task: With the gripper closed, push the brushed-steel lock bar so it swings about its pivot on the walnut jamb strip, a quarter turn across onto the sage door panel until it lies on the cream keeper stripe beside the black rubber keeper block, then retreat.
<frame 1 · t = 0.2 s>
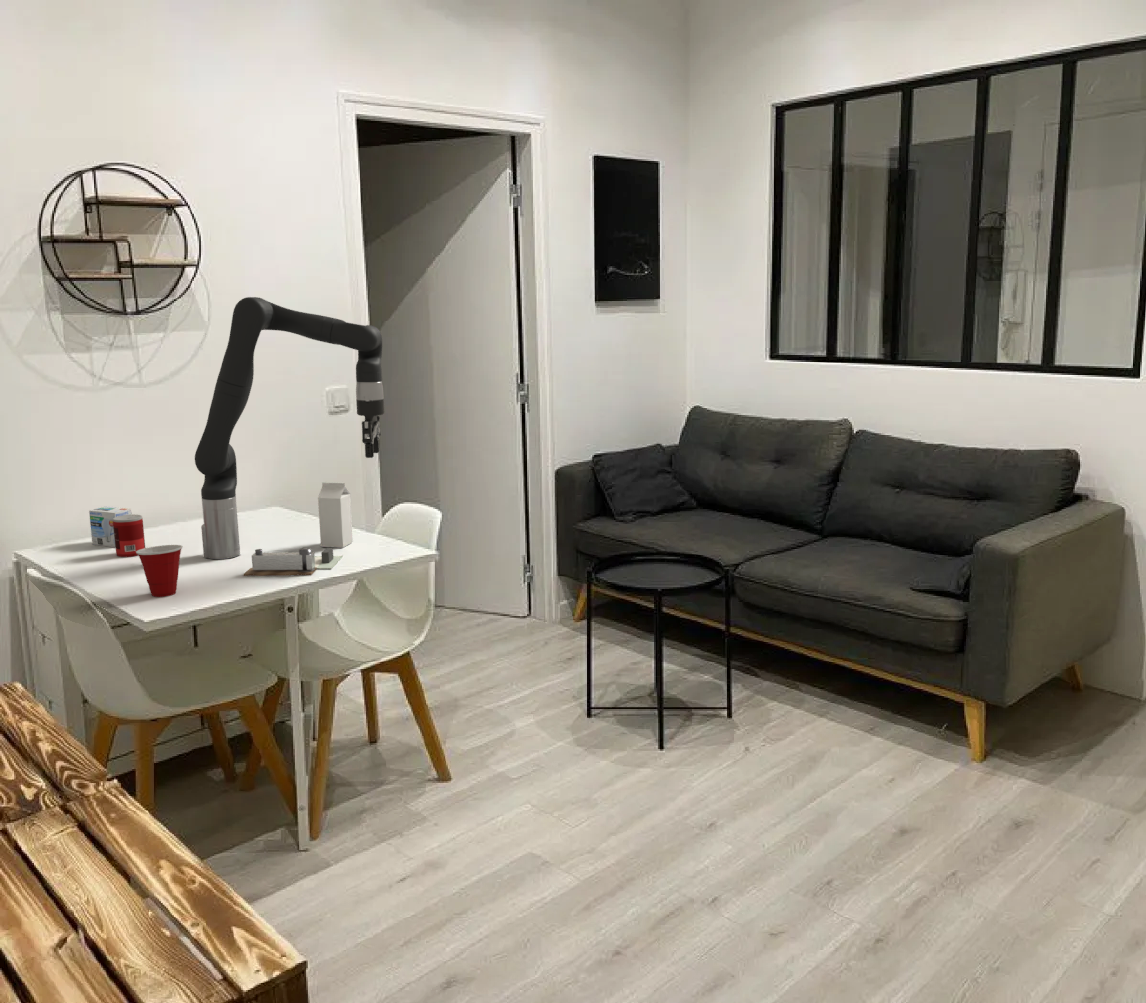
hand: (372, 455, 283), 29 cm above the table, fingers open, 8 cm apart
lock bar: (283, 558, 269), point 4 cm above the table, hinge at 0.0°
canned food: (131, 554, 292), on the table
jamb strip: (280, 572, 270), on the table
door panel: (297, 563, 279), on the table
plastic cup: (163, 594, 251), on the table
milk carton: (337, 545, 300), on the table
light bulb box: (113, 544, 305), on the table
keeper block: (327, 562, 280), resting on door panel
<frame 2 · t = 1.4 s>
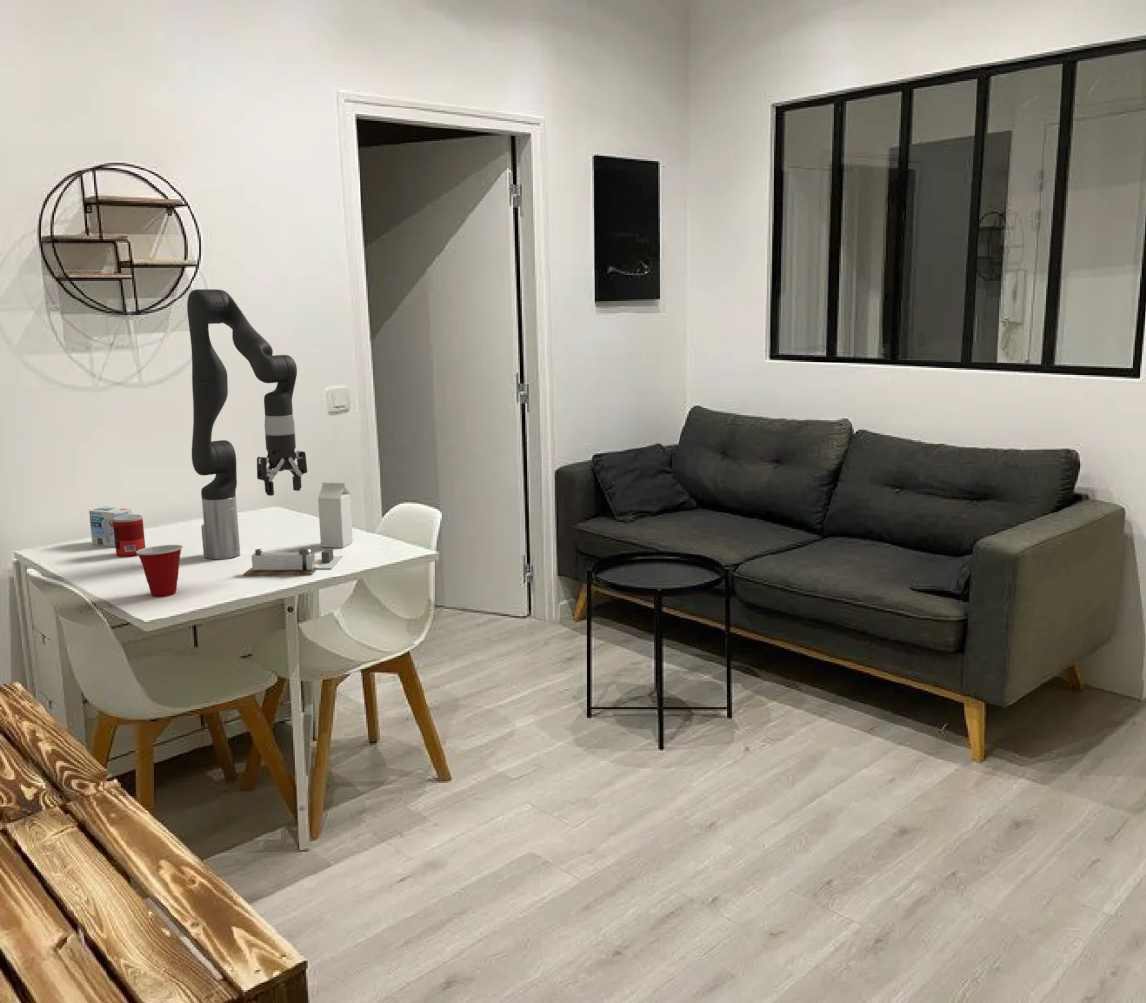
hand: (283, 492, 265), 22 cm above the table, fingers open, 8 cm apart
nothing on the table moved.
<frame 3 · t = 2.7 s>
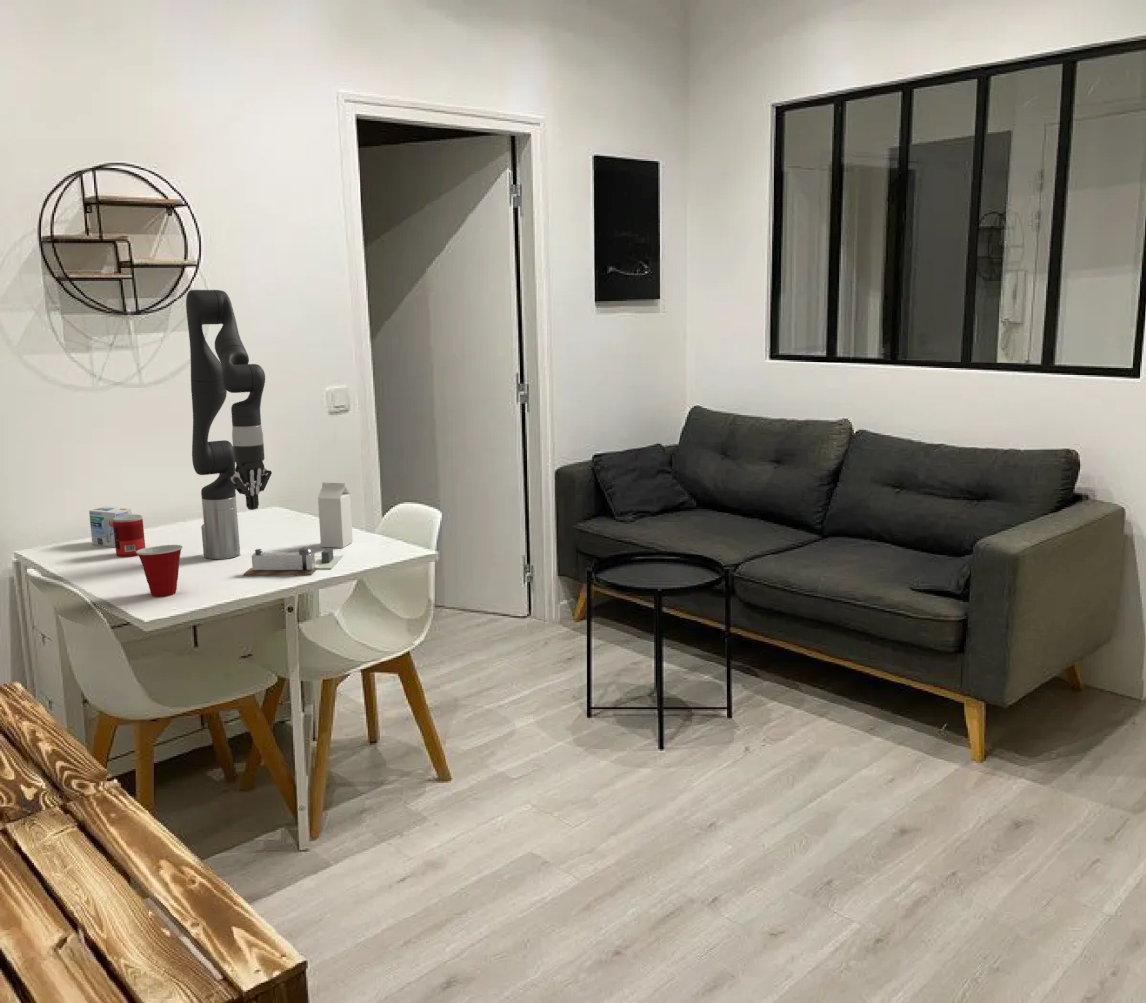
hand: (253, 509, 260), 19 cm above the table, fingers closed
nothing on the table moved.
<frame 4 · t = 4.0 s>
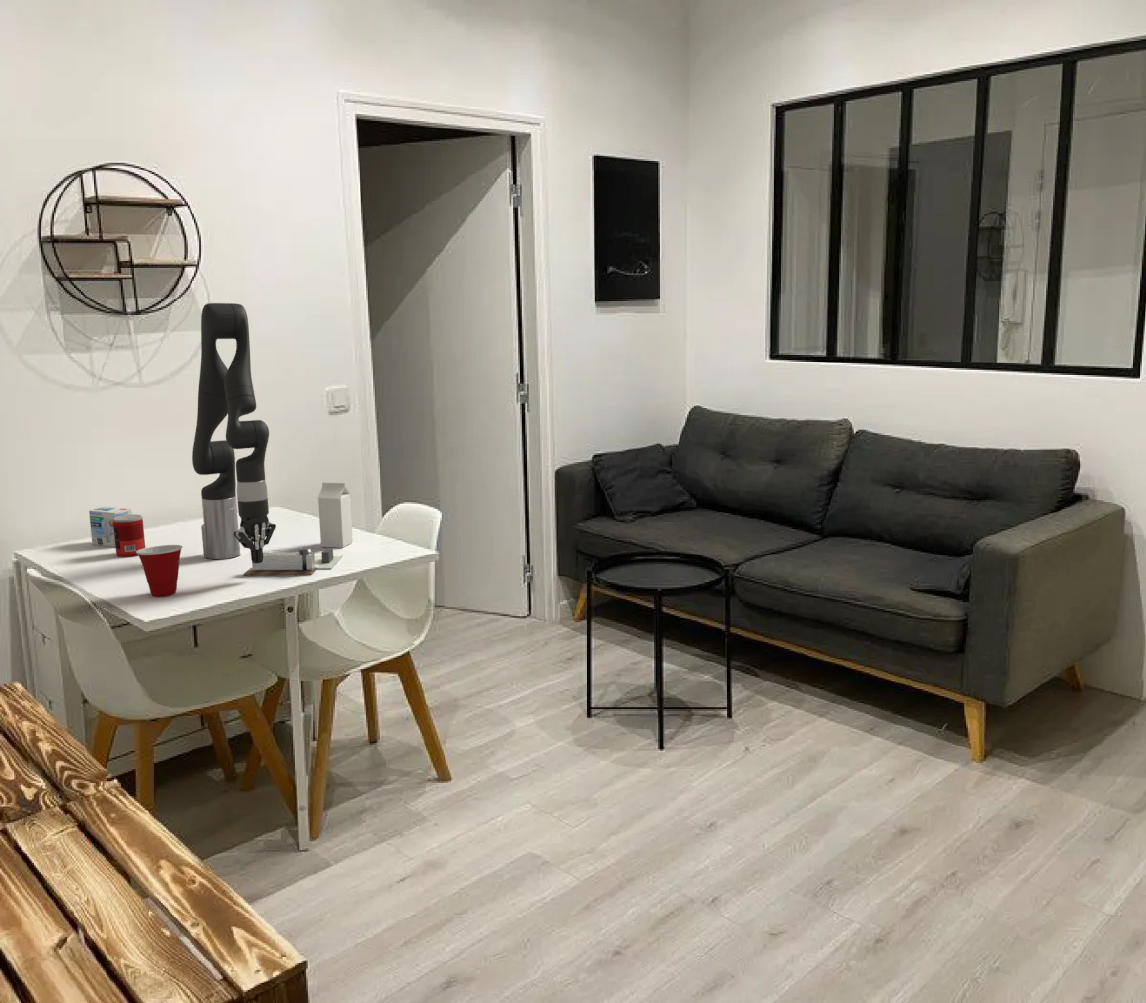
hand: (257, 562, 262), 5 cm above the table, fingers closed
nothing on the table moved.
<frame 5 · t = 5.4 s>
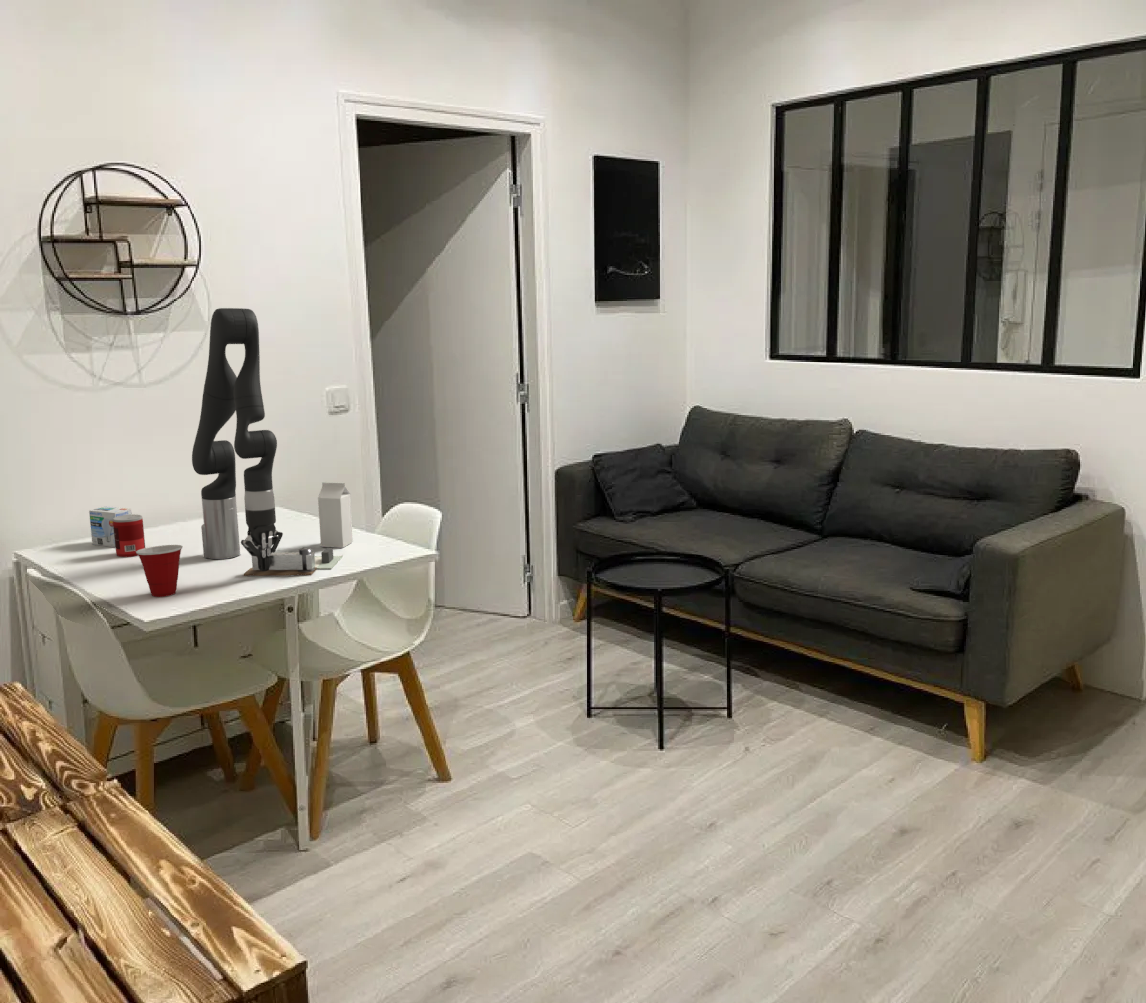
hand: (264, 570, 266), 2 cm above the table, fingers closed
lock bar: (283, 558, 269), point 4 cm above the table, hinge at -0.1°, touching gripper
everything else where it was.
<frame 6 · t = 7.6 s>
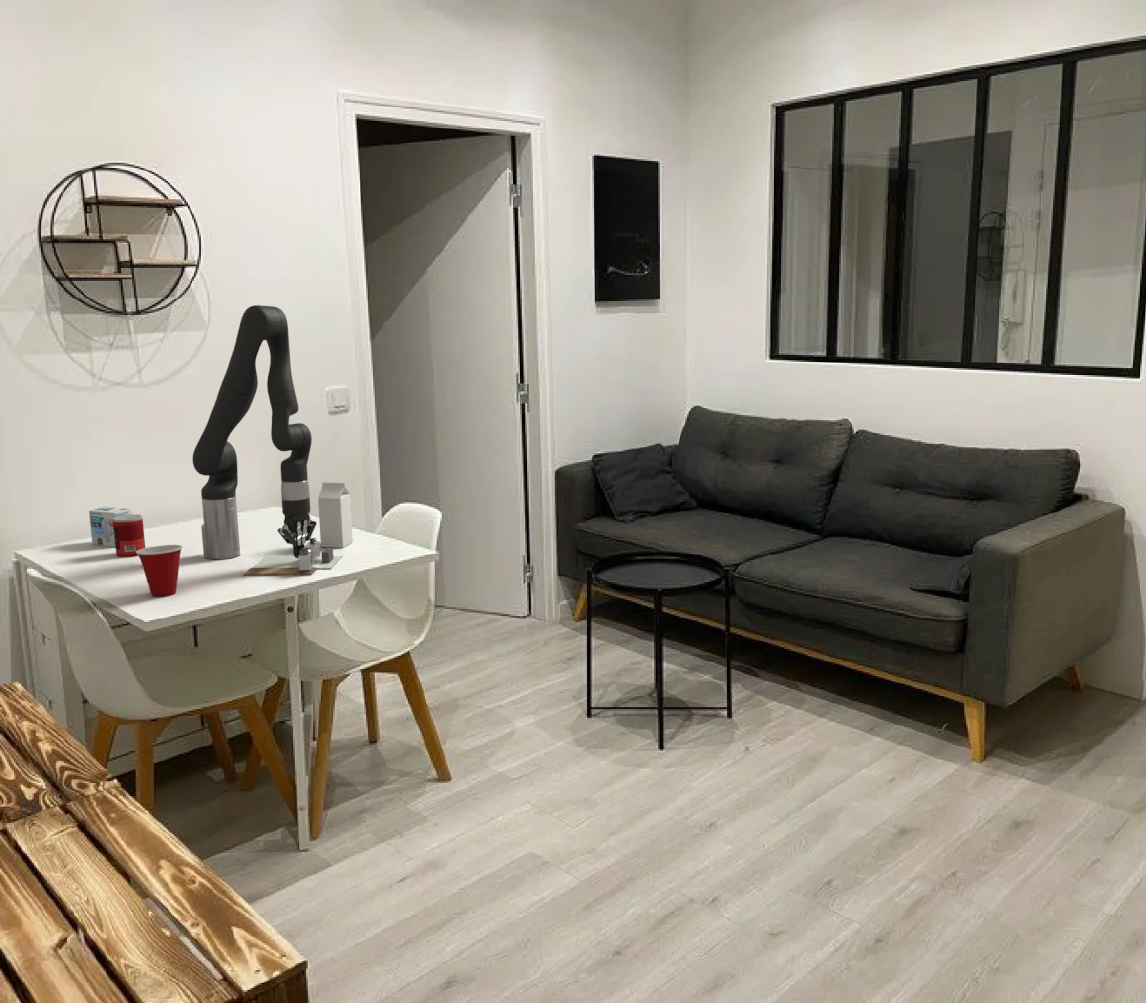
hand: (299, 557, 279), 2 cm above the table, fingers closed
lock bar: (309, 553, 275), point 4 cm above the table, hinge at -85.1°, touching gripper
everything else where it was.
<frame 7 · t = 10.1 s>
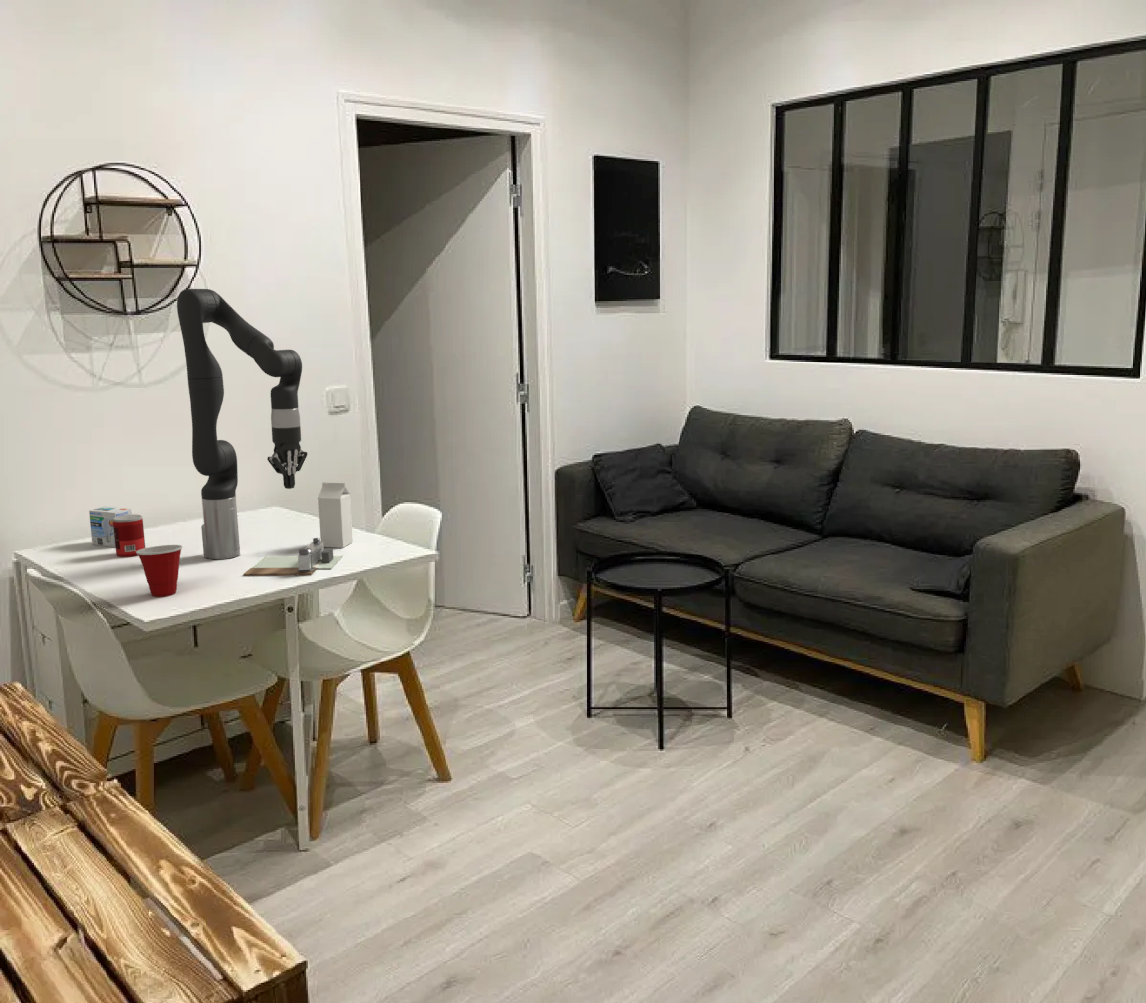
hand: (289, 488, 273), 22 cm above the table, fingers closed
lock bar: (311, 553, 275), point 4 cm above the table, hinge at -89.4°
everything else where it was.
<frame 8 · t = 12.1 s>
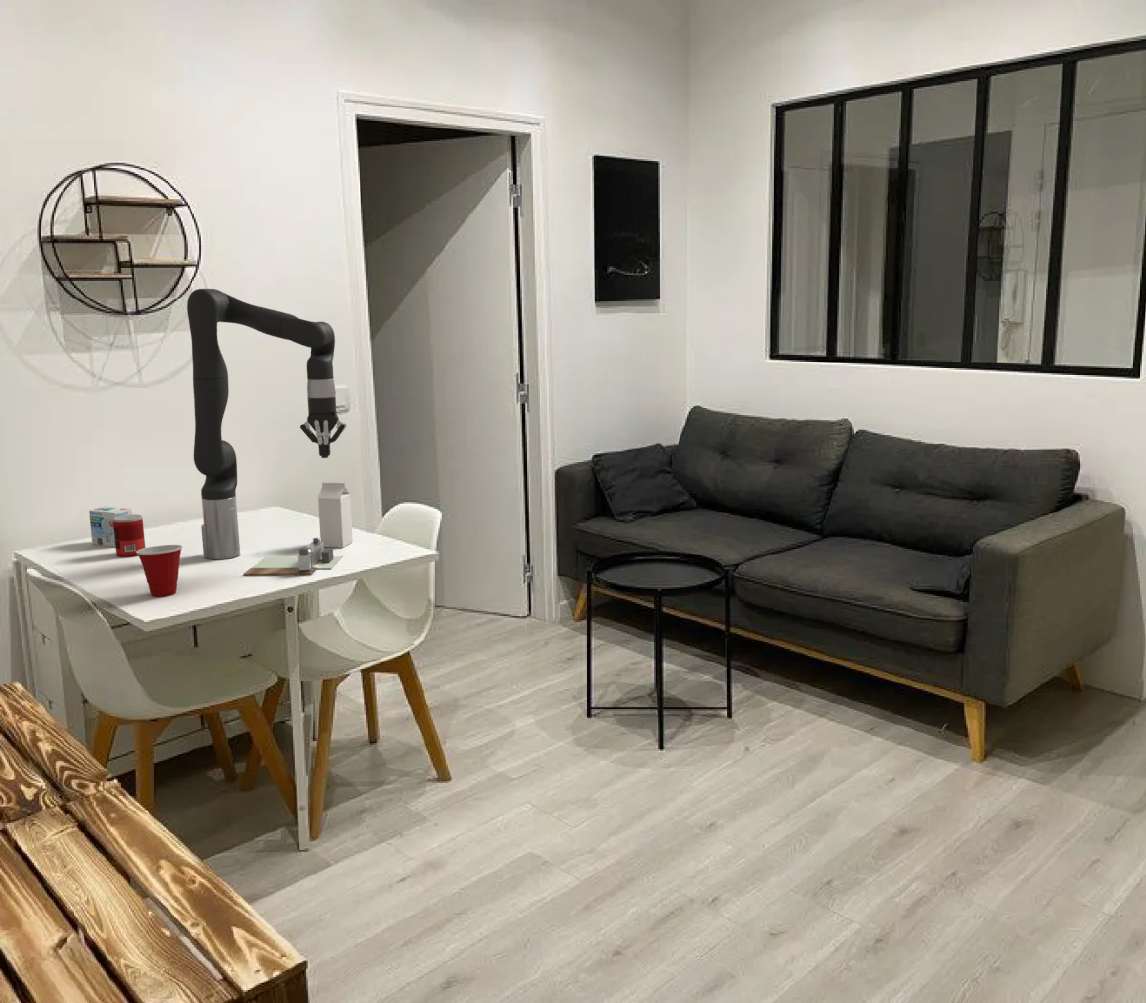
hand: (325, 457, 279), 29 cm above the table, fingers closed
nothing on the table moved.
at the end: lock bar at -89° (first picture: +0°); lock bar touching nothing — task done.
